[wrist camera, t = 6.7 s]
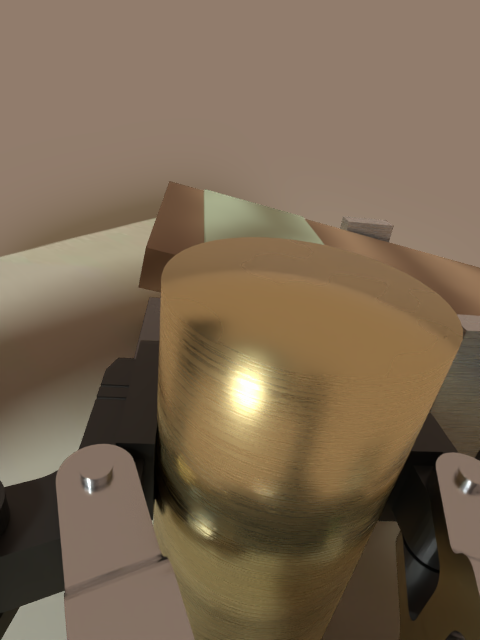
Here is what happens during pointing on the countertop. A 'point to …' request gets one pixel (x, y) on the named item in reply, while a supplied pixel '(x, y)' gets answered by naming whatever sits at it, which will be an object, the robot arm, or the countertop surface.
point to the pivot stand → (459, 384)
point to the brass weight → (285, 423)
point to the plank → (260, 221)
